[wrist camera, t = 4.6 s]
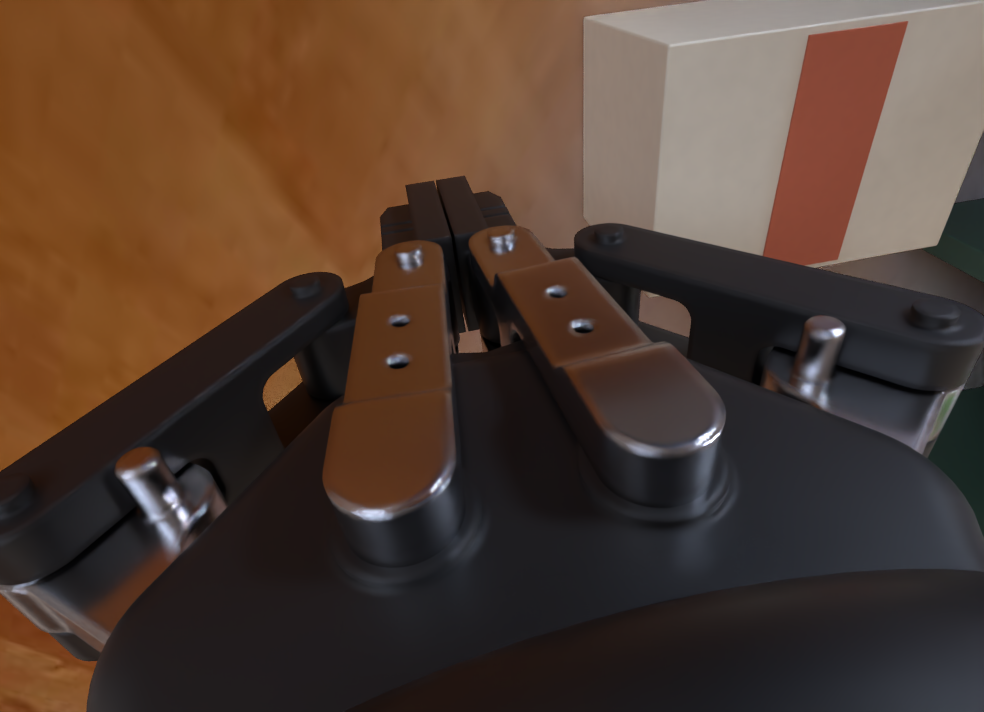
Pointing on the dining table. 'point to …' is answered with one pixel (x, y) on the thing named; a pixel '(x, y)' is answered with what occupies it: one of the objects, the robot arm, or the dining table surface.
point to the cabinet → (979, 411)
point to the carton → (784, 122)
